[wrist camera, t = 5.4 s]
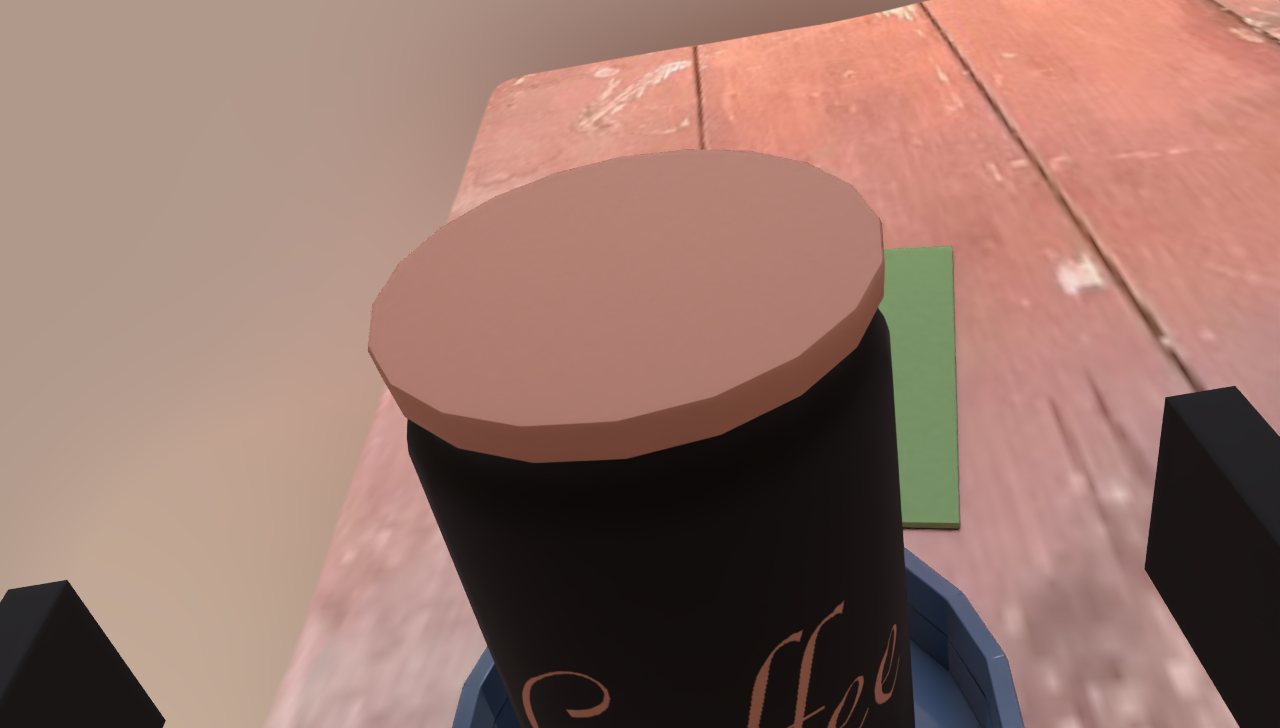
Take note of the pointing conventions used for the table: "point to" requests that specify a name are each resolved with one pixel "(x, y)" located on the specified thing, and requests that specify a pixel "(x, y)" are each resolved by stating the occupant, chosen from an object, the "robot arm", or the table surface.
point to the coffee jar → (664, 442)
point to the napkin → (924, 382)
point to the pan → (940, 659)
